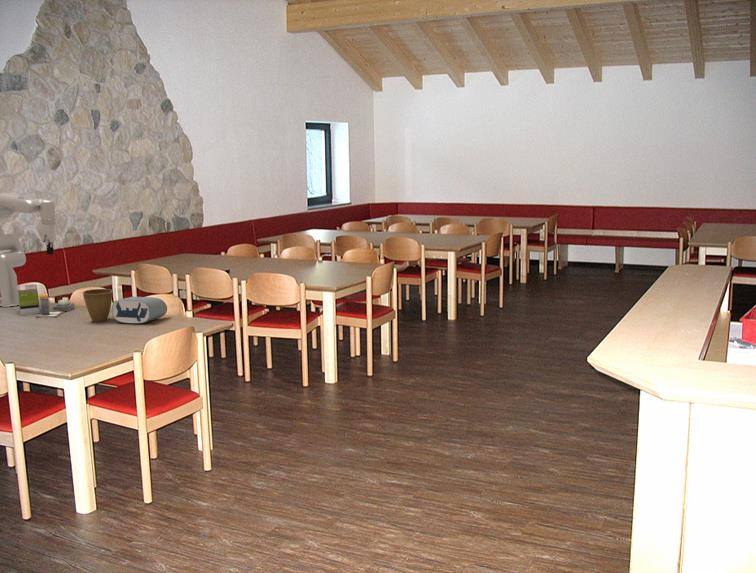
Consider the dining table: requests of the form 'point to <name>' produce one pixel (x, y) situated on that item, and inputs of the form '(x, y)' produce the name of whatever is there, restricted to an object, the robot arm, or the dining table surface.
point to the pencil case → (138, 309)
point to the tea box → (28, 299)
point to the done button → (63, 302)
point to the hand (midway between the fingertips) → (50, 254)
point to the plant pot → (98, 303)
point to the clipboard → (52, 313)
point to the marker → (44, 304)
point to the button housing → (64, 307)
